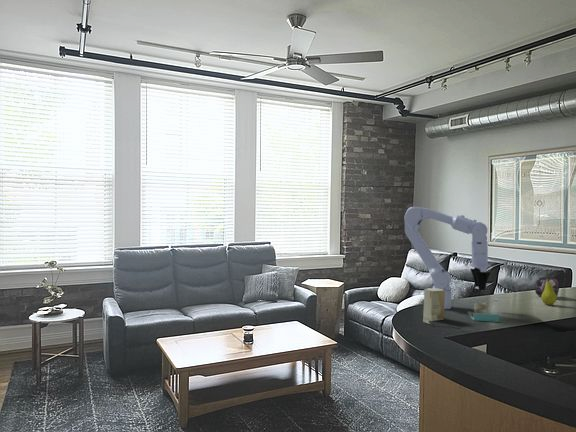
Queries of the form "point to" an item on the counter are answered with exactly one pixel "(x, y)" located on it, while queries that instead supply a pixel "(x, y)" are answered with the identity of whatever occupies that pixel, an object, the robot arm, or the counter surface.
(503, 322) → the counter surface
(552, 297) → the fruit
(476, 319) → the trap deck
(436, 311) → the skincare box
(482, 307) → the maple block
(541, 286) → the mineral specimen
